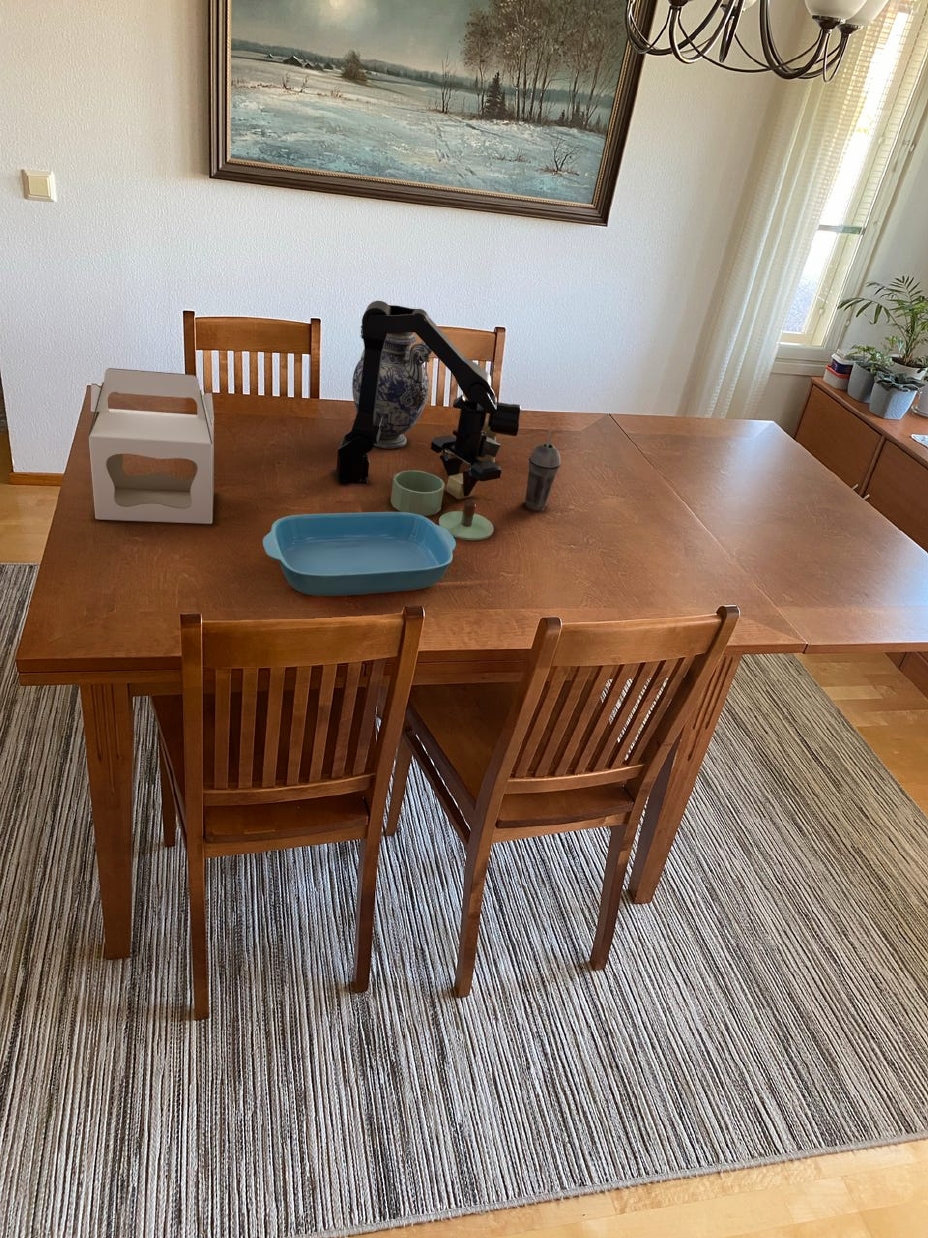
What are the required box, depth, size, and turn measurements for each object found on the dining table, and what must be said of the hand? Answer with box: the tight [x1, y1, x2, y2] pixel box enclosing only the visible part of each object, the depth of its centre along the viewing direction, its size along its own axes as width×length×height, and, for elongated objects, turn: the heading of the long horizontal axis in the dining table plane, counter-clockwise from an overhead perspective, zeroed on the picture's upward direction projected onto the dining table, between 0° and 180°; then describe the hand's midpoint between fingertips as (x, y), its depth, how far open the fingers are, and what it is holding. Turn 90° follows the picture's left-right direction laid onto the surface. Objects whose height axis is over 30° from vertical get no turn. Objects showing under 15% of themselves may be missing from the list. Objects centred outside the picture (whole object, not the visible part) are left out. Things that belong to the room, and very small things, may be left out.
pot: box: [390, 469, 446, 517], centre depth 197 cm, size 11×11×6 cm
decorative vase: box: [351, 324, 433, 450], centre depth 218 cm, size 21×19×28 cm
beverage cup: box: [524, 427, 561, 512], centre depth 202 cm, size 7×7×20 cm
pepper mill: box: [478, 418, 498, 463], centre depth 221 cm, size 6×6×11 cm
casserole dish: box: [262, 511, 457, 597], centre depth 170 cm, size 37×22×7 cm, turn 110°
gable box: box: [88, 367, 215, 525], centre depth 172 cm, size 22×13×28 cm, turn 102°
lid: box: [438, 500, 495, 541], centre depth 191 cm, size 12×12×6 cm
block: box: [446, 472, 475, 500], centre depth 205 cm, size 4×4×4 cm
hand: (459, 491), depth 205 cm, fingers closed on block, 4 cm apart
